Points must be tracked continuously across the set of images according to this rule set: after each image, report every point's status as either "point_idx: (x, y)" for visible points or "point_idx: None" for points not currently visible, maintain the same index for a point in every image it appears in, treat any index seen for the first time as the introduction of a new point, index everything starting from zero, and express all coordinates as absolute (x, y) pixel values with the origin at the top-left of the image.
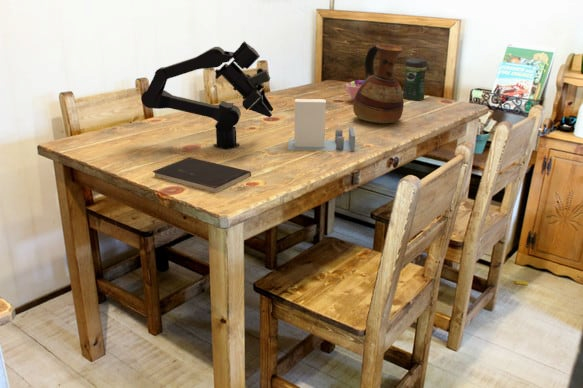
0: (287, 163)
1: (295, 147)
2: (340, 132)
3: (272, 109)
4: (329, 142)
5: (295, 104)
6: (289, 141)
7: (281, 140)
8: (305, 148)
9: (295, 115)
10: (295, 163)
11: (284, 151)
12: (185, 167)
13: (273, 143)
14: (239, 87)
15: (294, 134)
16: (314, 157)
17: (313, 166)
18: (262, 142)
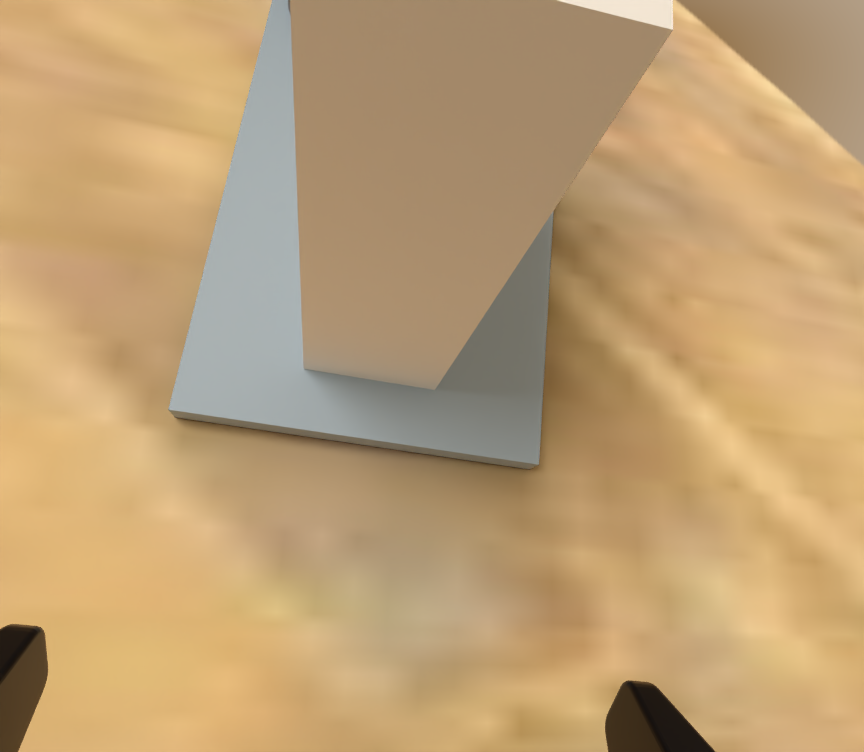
0: (805, 501)
1: (467, 383)
2: None
3: (39, 652)
4: None
5: (639, 71)
6: (250, 416)
7: (83, 494)
8: (502, 300)
9: (540, 217)
10: (796, 436)
11: (488, 497)
12: None
13: (192, 597)
14: None
15: (461, 348)
16: (645, 271)
17: (840, 317)
18: (125, 738)
